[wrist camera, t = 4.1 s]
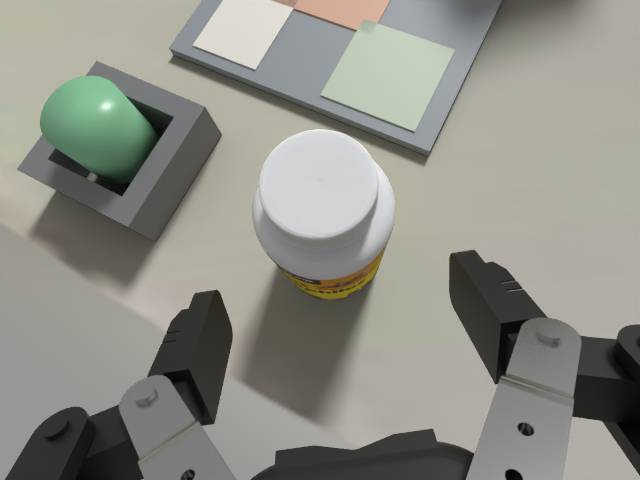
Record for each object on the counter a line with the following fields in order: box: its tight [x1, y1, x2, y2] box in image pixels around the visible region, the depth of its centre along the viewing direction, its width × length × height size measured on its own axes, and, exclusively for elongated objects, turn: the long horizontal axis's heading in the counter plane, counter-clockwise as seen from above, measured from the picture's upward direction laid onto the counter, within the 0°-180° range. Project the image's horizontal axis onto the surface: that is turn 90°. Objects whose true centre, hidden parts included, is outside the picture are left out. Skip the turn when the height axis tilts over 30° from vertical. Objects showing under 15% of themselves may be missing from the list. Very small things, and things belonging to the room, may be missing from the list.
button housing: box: [17, 61, 222, 242], centre depth 23 cm, size 8×8×3 cm
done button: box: [40, 76, 160, 184], centre depth 22 cm, size 4×4×4 cm
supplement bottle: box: [252, 129, 395, 300], centre depth 17 cm, size 6×6×10 cm
